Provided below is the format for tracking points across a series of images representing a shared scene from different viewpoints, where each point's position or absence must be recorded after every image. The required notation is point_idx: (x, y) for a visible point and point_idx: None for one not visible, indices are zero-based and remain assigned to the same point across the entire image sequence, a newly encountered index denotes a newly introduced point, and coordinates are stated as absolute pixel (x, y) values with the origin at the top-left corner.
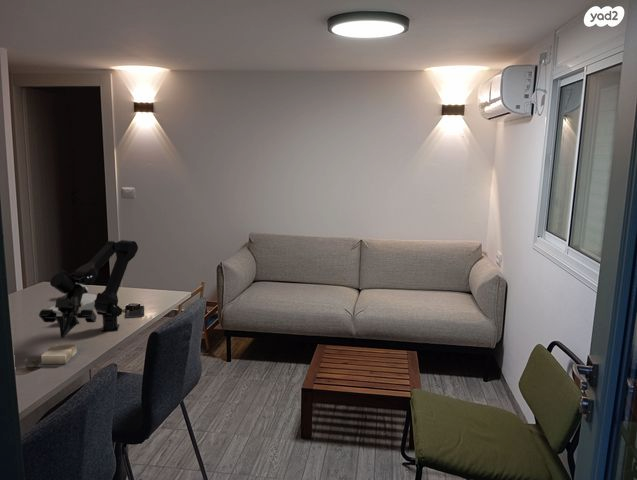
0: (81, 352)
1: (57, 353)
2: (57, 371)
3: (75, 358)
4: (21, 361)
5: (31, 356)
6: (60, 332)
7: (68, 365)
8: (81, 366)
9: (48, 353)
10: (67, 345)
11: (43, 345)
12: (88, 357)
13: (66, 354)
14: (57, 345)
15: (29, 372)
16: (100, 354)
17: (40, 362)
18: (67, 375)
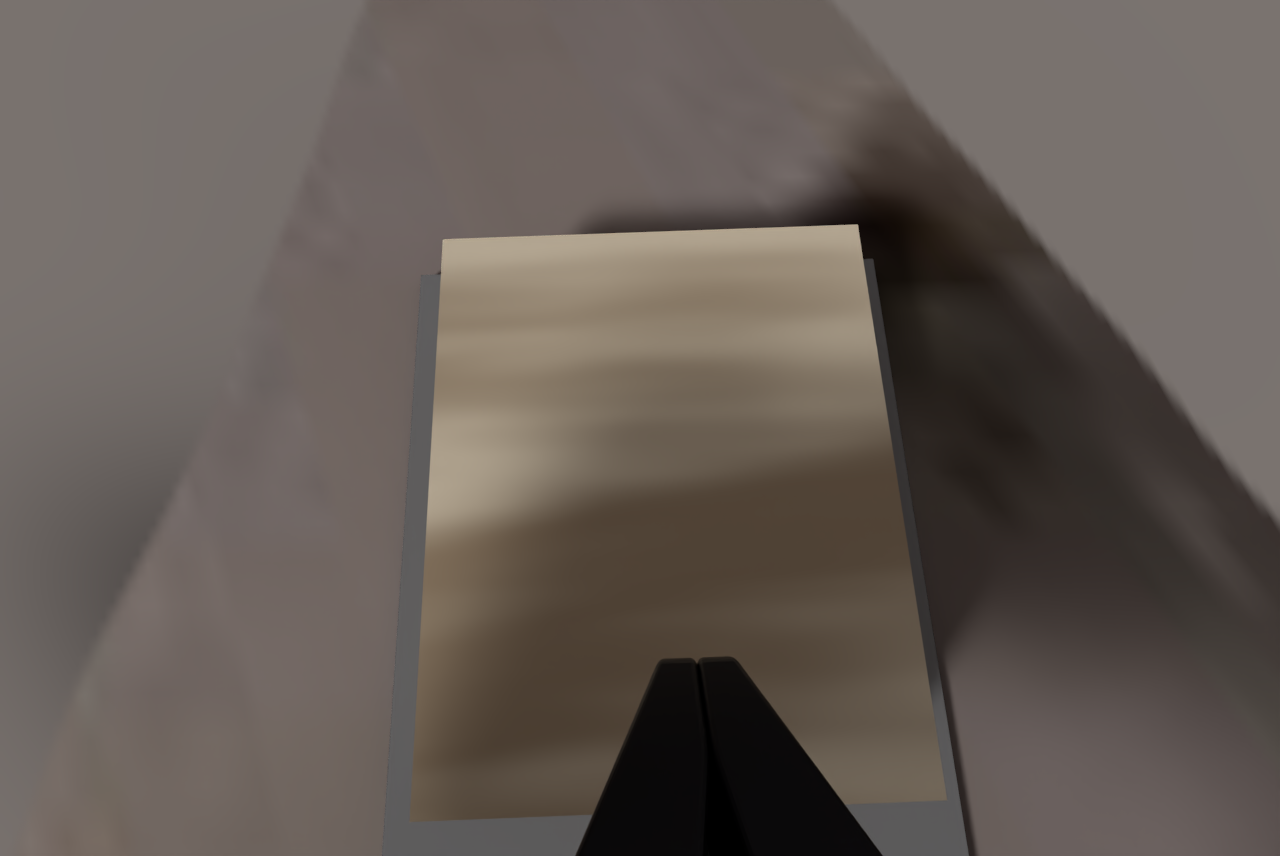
0: (392, 817)
1: (618, 317)
2: (526, 175)
3: (414, 540)
4: (1218, 457)
5: (1211, 657)
6: (794, 748)
7: (431, 295)
8: (260, 314)
9: (783, 313)
10: (600, 741)
11: None
12: (234, 636)
13: (441, 293)
14: (829, 731)
15: (859, 144)
16: (48, 779)
17: (887, 383)
18: (362, 86)
